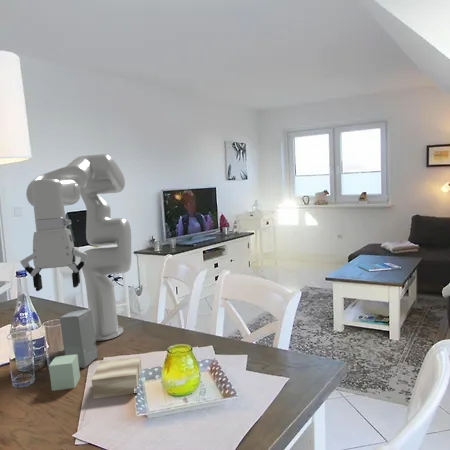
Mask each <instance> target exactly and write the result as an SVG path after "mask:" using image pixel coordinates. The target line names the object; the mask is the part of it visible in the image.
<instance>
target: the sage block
mask: <svg viewBox="0 0 450 450" xmlns="http://www.w3.org/2000/svg"><path fill="white" fill-rule="evenodd" d="M48 372H49V378H50V387H51V391H52V392H53V391H62V390H70V389H75V388H76V386H78V383H79V381H80V379H81V373H80V367H79V363H78V355H77V354H75V355H66V356H65V355H59V356H54V358H53V359H52V361H51V362H50V364H49V365H48Z"/></svg>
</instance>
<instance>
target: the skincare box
mask: <svg viewBox="0 0 450 450" xmlns="http://www.w3.org/2000/svg"><path fill="white" fill-rule="evenodd" d="M59 322H60V323H59V324H60V330H61V337H62V338H61V339H62V343H63V350H64V356H66V355H75V354H77V355H78V363H79V368H87V367H88V366H89V365H90V364H91V363H92V362H94V361H95V360H96V359H97V358H99V357H98V356H99V355H98V348H97V341H96V340H95V332H94V325H93V318H92V311H91V309H89V308H88V309H87V308H86V309H73V310H72V311H69V312H65V314H64V315H61V316H60V317H59Z"/></svg>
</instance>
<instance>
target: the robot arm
mask: <svg viewBox="0 0 450 450" xmlns="http://www.w3.org/2000/svg"><path fill="white" fill-rule="evenodd" d="M125 180H126V179H125V177H124V174H123V172H122V170H121V168H120V167H119V165H118V164H117V162H116V160H115V159H114V158H113V157H112V156H110V155H109V154H104V153H103V154H90V155H89V154H88V155H87V154H86V155H81V156H78V157H76V158H75V159H73V160H71V162H70V163H68V164H67V165H66V166H64V167H61V168H57V169H55V170H52V171H48V172H45V173H42V174H41V175H38V176H36V177H35V178H34V179H33V180H31V181H30V182H29V184H28V186H27V189H26V190H25V191H26V193H25V195H26V200H27V201H28V203H29V205H31V206H32V207H33V211H34V224H35V231H33V239H32V254H31V253H30V255H28V256H27V257H25V258H23V259H21V260H20V261H19V262H20V265H21V266H22V267H23V268H24V270H25V272H27V274H30V276H31V277H32V282H33V288H34V289H35V291H36V292H40V291H41V290H42V289H43V281H42V275H41V274H40V272H41V271H42V270H43V269H55V268H64V267H68V268H69V269H70V270H71V271H72V273H71V279H72V281H71V282H72V288H77V287H79V284H80V283H81V278H80V277H81V276H80V271H82V274H83V278H84V282H85V283H84V284H85V289H86V297H87V298H86V299H87V307H88V309H91V311H92V318H93V325H94V332H95V340H96V342H99V341H101V342H102V341H107V340H111V339H114V338H116V337H119V336H121V335H122V334H123V333H124V328H123V327H122V326H120V325H119V322H118V312H117V304H116V303H117V302H116V293H115V285H114V284H113V281H112V280H111V279H110V278H109V276H107V275H115V274H116V275H117V274H125V273H127V272H129V271H130V270H131V267H132V229H131V225H130V222H129V221H128V220H127V219H126V218H122V217H117V218H111V214H112V213H111V207H110V204H109V203H108V202H107V201H106V200H105V199H104V198H103V197H102V196H101V195H105V194H106V195H107V194H115V193H120V192H122V191H123V190H124V188H125V184H126V181H125ZM81 198H82V201H83V203H84V205H85V209H86V221H85V223H86V224H85V227H86V228H85V235H86V236H85V237H86V238H85V239H86V242H87V243H88V245H91V246H95V247H96V246H97V248H95V247H94V248H90V249H87V250H84V251H83V252H82V251H80V250H76V249H75V244H74V239H73V235H72V232H71V229H70V228H67V227H68V226H69V225H72V220H71V219H67V217H66V213H65V206H72V205H74V204H77V203H78V202H79V201H80V199H81ZM111 245H113V246H112V247H111ZM114 245H116V246H114ZM98 246H99V247H98ZM100 246H101V247H100ZM102 246H109V247H102ZM77 257H78V258H79V262H78V264H77V263H76V261H77ZM32 260H33V266H34V267H32V266H31V265H30V262H31V261H32Z"/></svg>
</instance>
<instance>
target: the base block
mask: <svg viewBox="0 0 450 450" xmlns="http://www.w3.org/2000/svg"><path fill="white" fill-rule="evenodd" d="M141 361H142V360H141V357H140V356H139V357H138V356H136V357H129V358H122V359H121V358H120V359H111V360H104V361H103V360H102V361H99V363H98V365H97V368H96V369H95V371H94V374H93V376H92V378H91V385H92V386H91V387H92V394H93V399H94V400H95V399H96V400H97V399H103V398H111V397H118V396H119V397H120V396H127V395H134V394H133V393H134V387H136V388H137V387H138V382H139V378H140V372H141V370H142V362H141Z"/></svg>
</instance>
